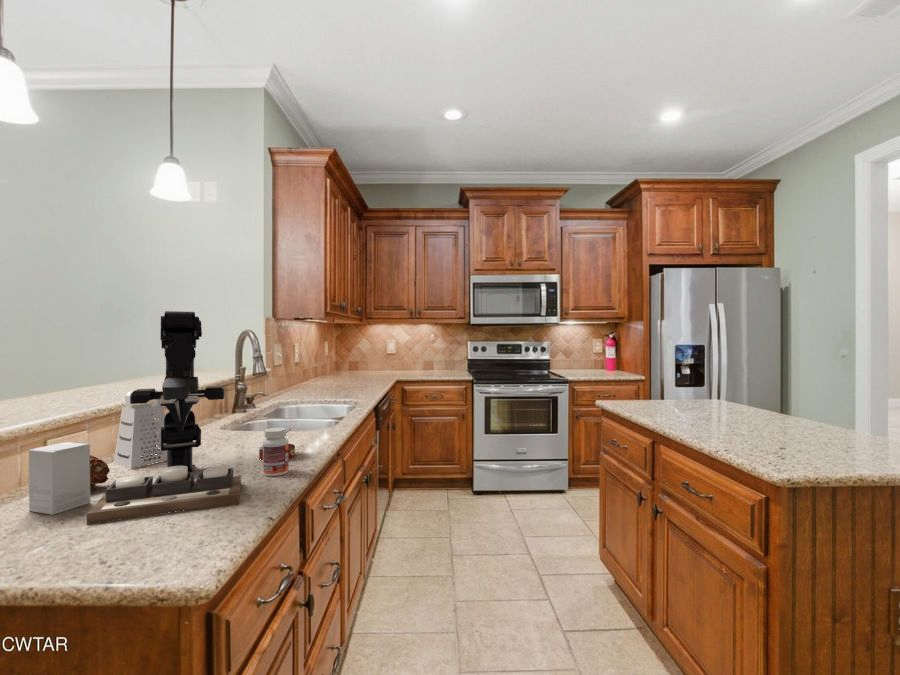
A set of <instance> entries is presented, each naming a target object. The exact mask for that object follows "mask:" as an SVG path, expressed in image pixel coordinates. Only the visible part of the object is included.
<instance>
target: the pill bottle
mask: <svg viewBox="0 0 900 675" xmlns="http://www.w3.org/2000/svg"><path fill="white" fill-rule="evenodd" d="M286 432H287V428H285V427H271V428H266V429H264V438H265V439H264V440H263V441H262V442H263V443H262V446H263V461H262V473H263V475H264V476H266V477H279V476H284V475H285V474H288V472H289V459H288V444H289V439H287V437H286V436H287V433H286Z"/></svg>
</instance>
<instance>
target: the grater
mask: <svg viewBox="0 0 900 675" xmlns="http://www.w3.org/2000/svg"><path fill="white" fill-rule="evenodd" d="M133 391H134V390H132V391H128V392H127V393H126V394H125V395H124V402H125V403H124V404H125V405H124V406H121V413H120V419H119V424H118V425H119V426H118V432H117V439H116V445H115V452H114V456H113V457H114V458H113V464H114V465H117V466H120V465H121V466H120V467H123V466H125V467H124V468H126V467H128V468H127V469H129V468H134V467H138V468H140V467H139V466H143V465H148V464H152V463H156V462H161V461H166V460H167V450H165V451H161V427H164V418H165V416H166V413H165V406H161V405H160V404H161V399H153V403H141V404H130V395H131V393H132V392H133ZM155 391H156V392H158V390H157V389H155ZM157 432H158V433H157ZM164 445H167V444H166V443H165V444H164ZM151 454H154V455H152V456H150V455H151ZM155 454H157V455H155ZM146 455H149V456H147V457H146ZM141 456H144V457H142V458H141ZM159 456H161V457H160V458H159ZM154 458H155V459H154ZM149 459H151V460H149ZM145 460H146V461H145ZM166 462H167V461H166ZM161 463H162V462H161ZM152 465H153V464H152ZM148 466H149V465H148ZM143 467H144V466H143ZM134 469H135V468H134Z"/></svg>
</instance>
